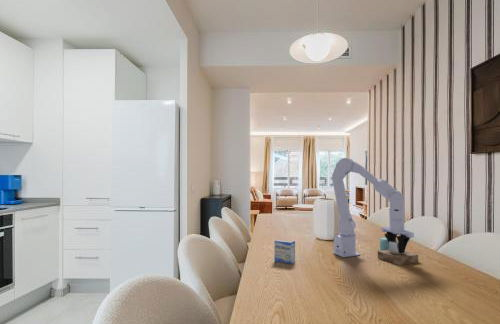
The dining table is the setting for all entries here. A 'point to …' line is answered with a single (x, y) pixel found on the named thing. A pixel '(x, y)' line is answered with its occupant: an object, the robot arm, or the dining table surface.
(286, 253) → the medicine box
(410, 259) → the walnut bore block
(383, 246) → the round bit
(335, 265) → the dining table surface
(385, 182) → the robot arm
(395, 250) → the square bit
